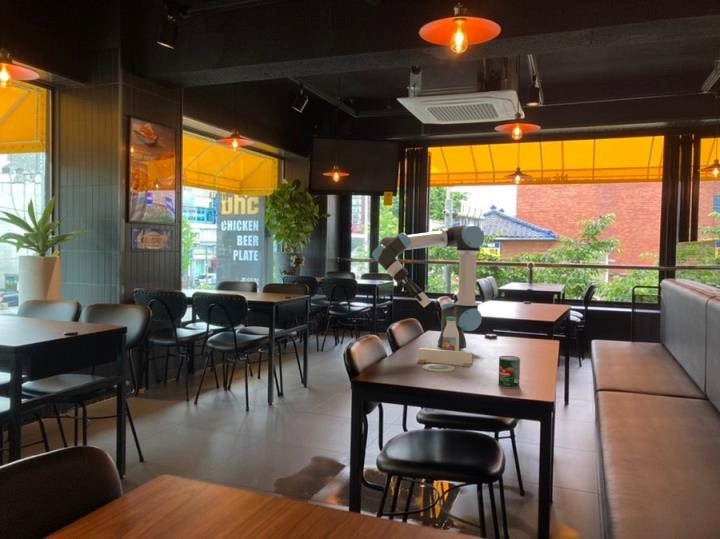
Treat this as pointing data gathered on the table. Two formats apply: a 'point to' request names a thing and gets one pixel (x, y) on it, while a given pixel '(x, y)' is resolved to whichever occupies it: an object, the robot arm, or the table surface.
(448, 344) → the milk bottle
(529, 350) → the table surface
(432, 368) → the coaster pad
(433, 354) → the low wall
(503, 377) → the canned tomato
